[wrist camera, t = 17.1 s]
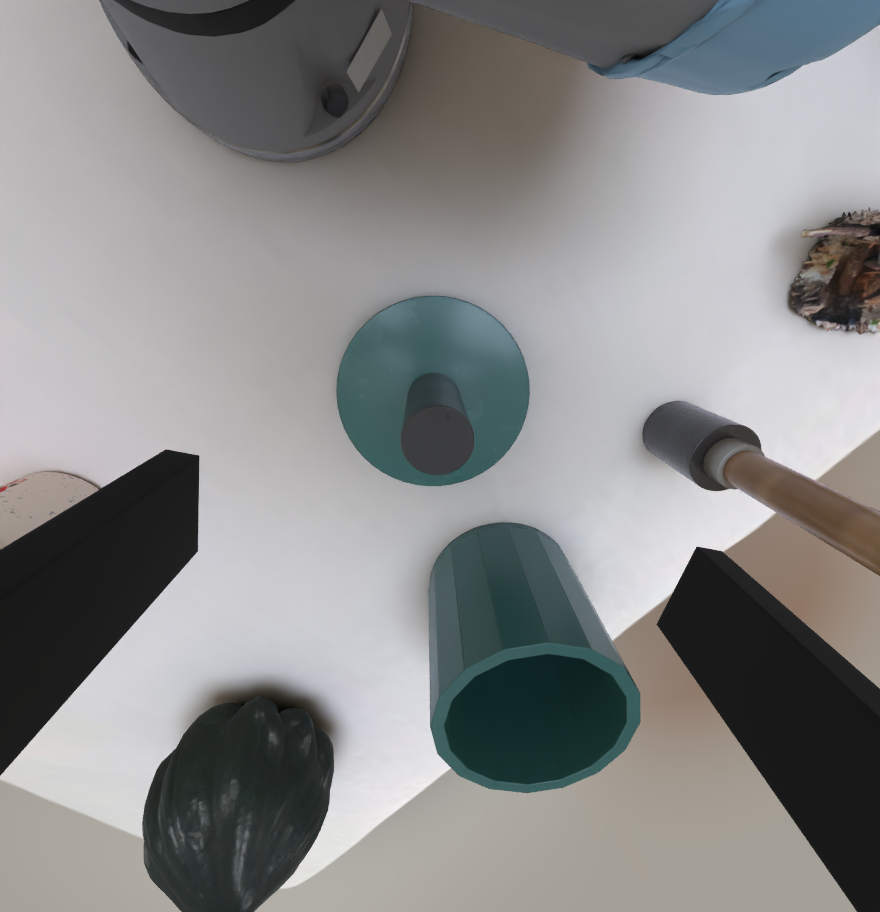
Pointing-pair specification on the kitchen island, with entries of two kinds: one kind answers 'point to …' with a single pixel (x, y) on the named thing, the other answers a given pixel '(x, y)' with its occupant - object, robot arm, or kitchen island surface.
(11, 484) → the teacup with lid
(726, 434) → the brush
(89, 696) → the kitchen island surface
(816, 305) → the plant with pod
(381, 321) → the lid
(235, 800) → the squash
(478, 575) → the tin
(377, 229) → the kitchen island surface
